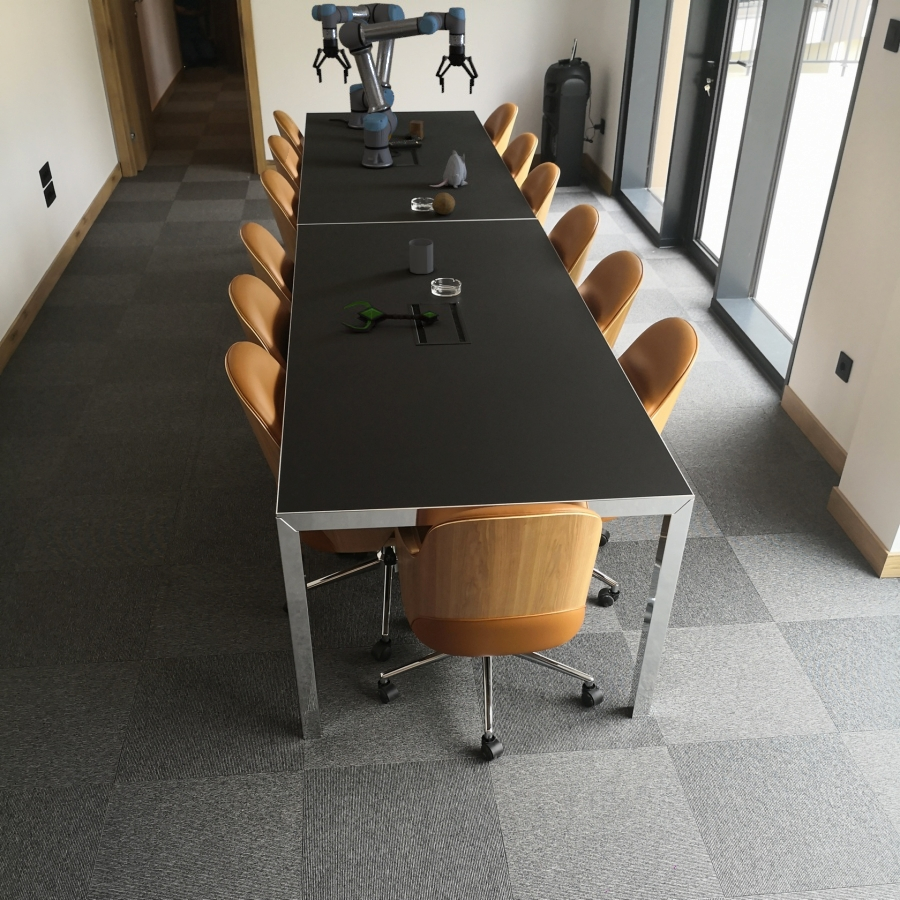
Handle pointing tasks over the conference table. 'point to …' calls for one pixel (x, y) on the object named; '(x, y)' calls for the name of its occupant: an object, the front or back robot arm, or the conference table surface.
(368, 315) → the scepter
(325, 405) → the conference table surface
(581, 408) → the conference table surface
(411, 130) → the brick
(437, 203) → the potato
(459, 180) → the toy
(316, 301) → the conference table surface
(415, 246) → the cup
